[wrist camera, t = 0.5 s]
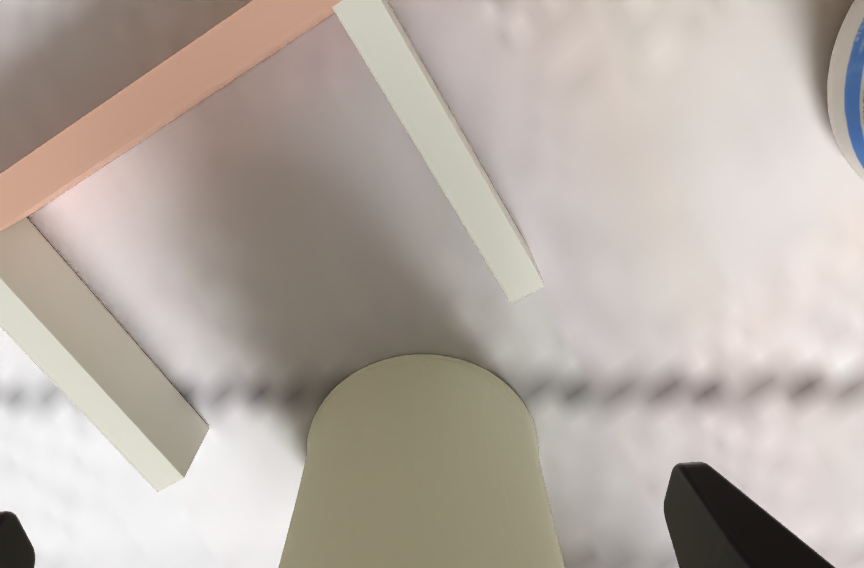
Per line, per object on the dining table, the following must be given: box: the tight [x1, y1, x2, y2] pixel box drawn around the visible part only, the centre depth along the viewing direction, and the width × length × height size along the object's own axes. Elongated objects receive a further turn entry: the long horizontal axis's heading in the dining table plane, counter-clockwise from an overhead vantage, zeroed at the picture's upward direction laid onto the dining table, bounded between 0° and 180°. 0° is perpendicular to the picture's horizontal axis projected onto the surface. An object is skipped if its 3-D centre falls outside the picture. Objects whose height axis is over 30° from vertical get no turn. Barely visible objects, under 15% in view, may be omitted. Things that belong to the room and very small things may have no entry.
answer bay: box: [0, 0, 545, 492], centre depth 22 cm, size 11×16×3 cm
